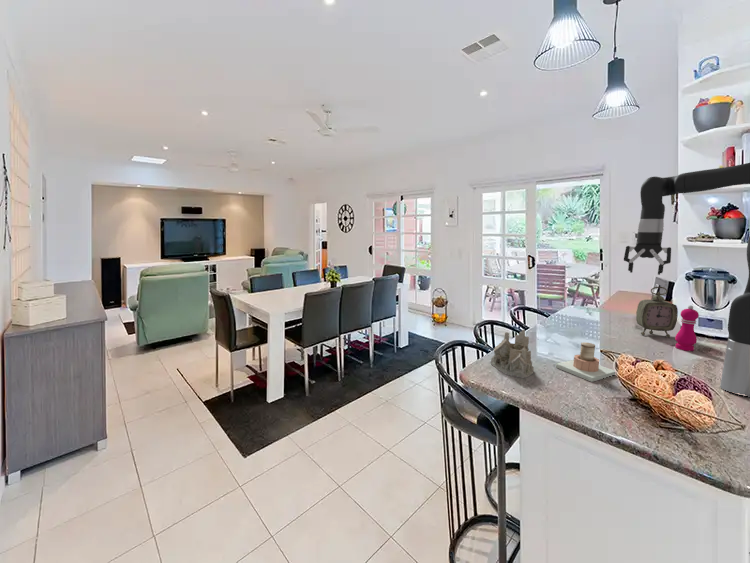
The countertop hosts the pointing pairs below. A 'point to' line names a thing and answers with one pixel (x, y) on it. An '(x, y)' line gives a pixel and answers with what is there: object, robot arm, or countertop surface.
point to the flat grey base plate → (586, 369)
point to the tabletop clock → (656, 314)
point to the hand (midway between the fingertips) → (644, 273)
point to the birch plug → (587, 351)
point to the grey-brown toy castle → (513, 356)
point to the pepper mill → (687, 330)
